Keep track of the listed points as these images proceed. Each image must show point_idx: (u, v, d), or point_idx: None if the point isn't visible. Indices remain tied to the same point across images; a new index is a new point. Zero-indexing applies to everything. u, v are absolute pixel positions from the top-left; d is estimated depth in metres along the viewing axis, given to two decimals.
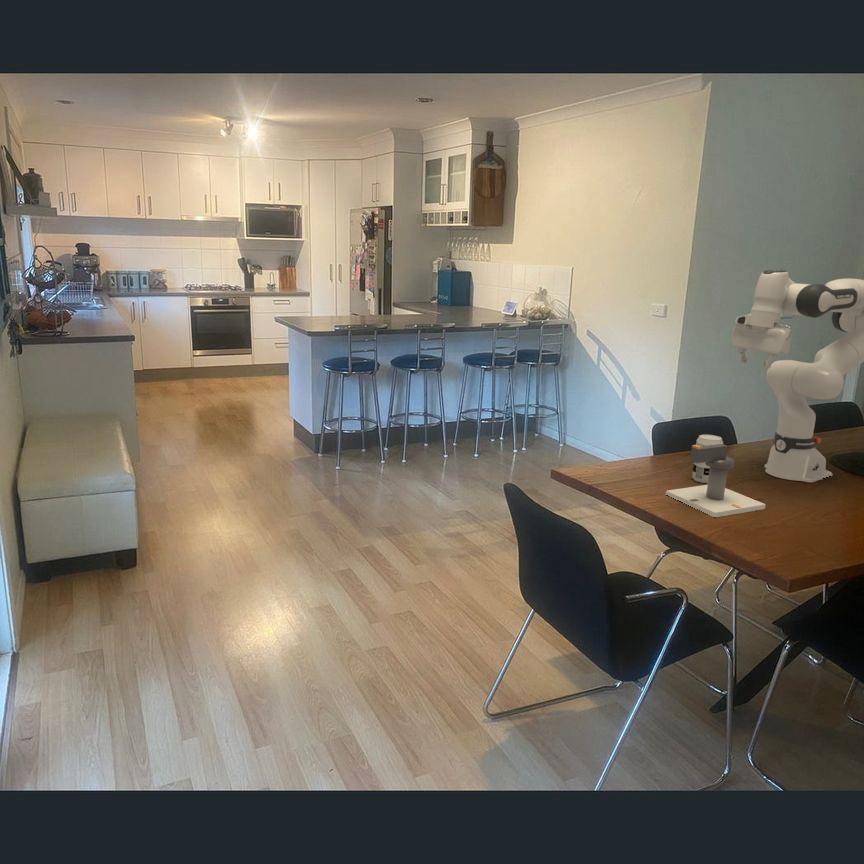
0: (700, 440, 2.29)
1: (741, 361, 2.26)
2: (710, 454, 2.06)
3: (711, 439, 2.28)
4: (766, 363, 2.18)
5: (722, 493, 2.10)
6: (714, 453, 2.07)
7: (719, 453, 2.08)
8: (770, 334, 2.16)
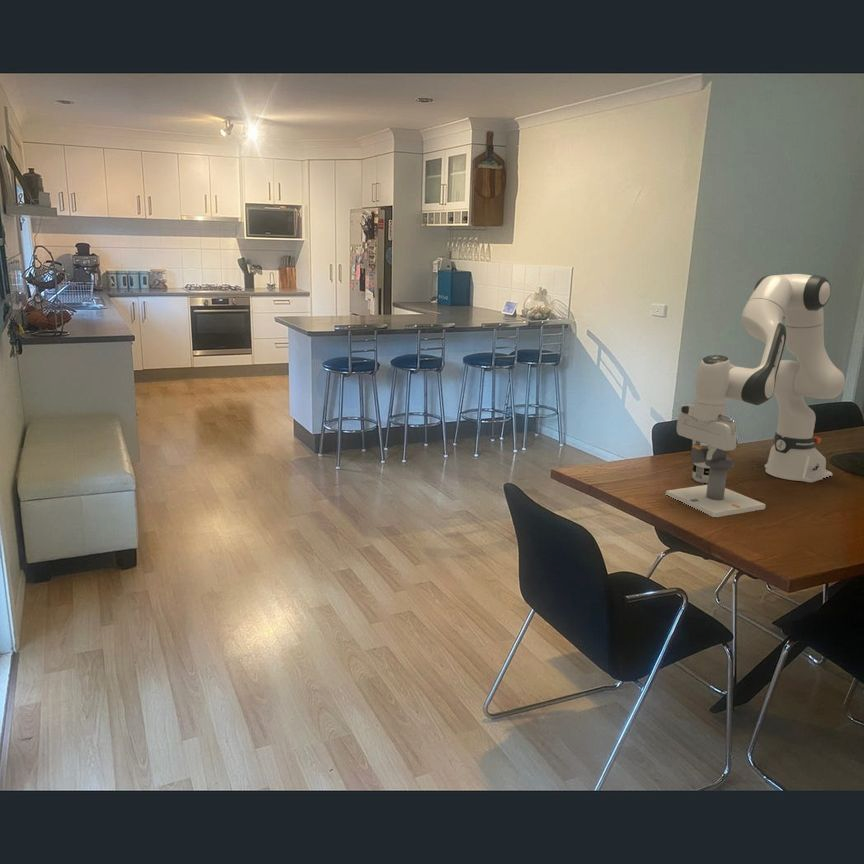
0: None
1: None
2: None
3: None
4: (706, 455, 2.04)
5: (722, 493, 2.10)
6: (714, 453, 2.07)
7: (719, 453, 2.08)
8: (715, 427, 1.99)
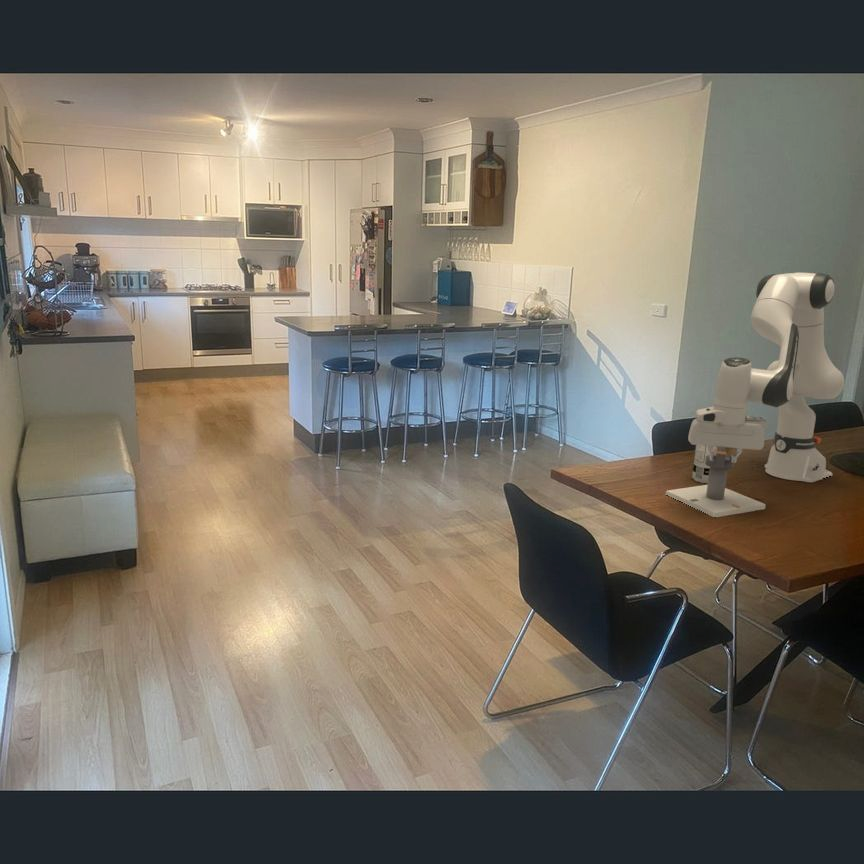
0: None
1: (714, 459, 2.03)
2: None
3: None
4: (735, 458, 2.02)
5: (722, 493, 2.10)
6: None
7: None
8: (746, 429, 1.98)
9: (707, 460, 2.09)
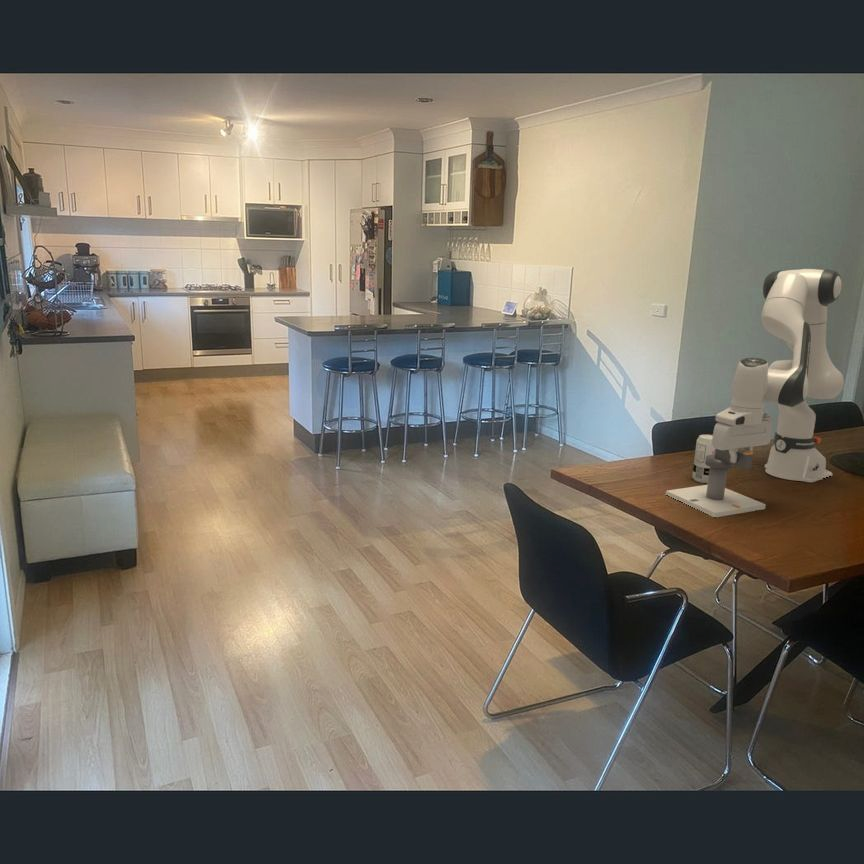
0: (700, 440, 2.29)
1: (737, 461, 2.02)
2: None
3: (711, 439, 2.28)
4: None
5: (722, 493, 2.10)
6: None
7: None
8: (760, 427, 2.01)
9: (716, 463, 2.07)
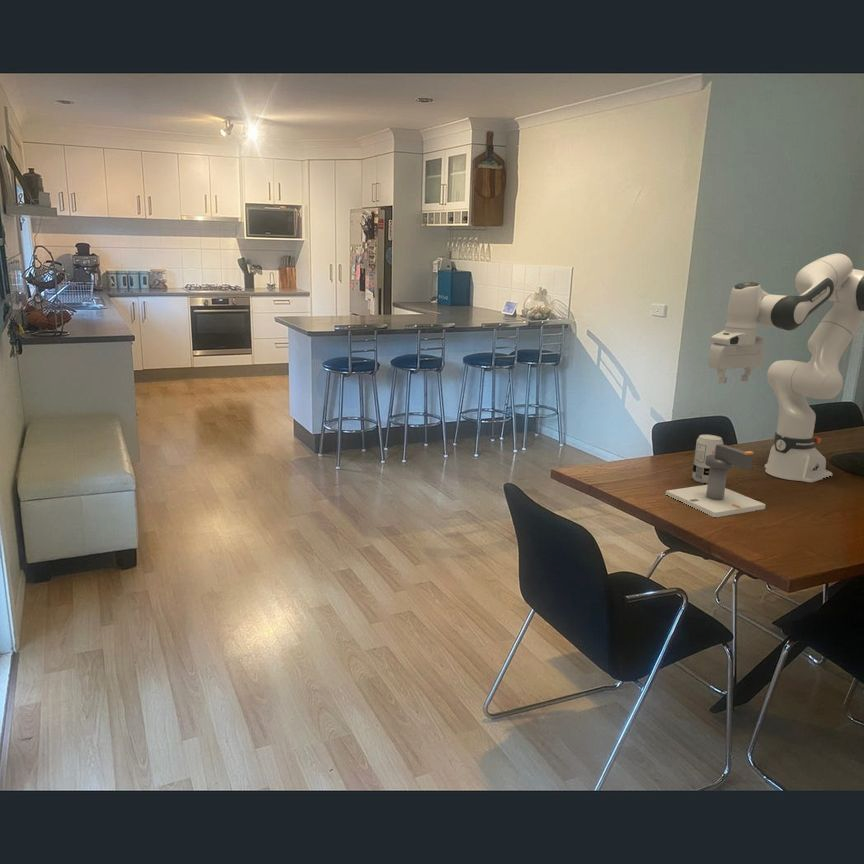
0: (700, 440, 2.29)
1: (725, 382, 2.13)
2: None
3: (711, 439, 2.28)
4: (748, 377, 2.16)
5: (722, 493, 2.10)
6: None
7: None
8: (754, 349, 2.13)
9: (716, 463, 2.07)
